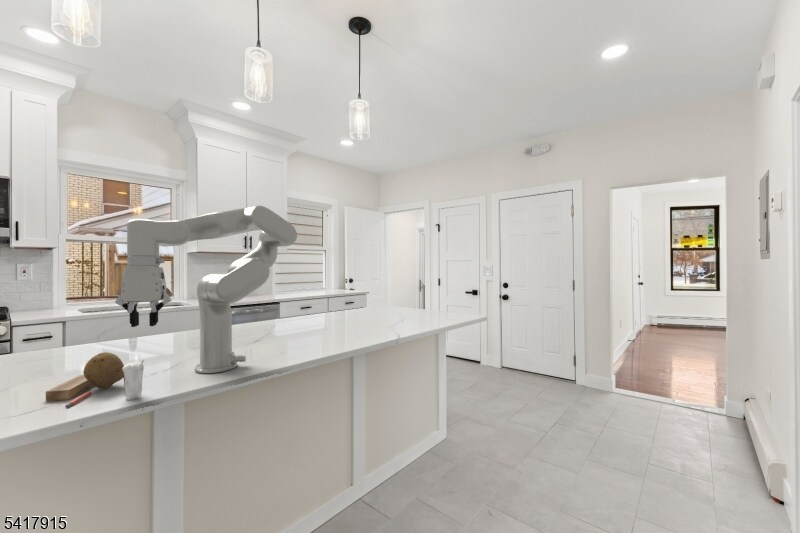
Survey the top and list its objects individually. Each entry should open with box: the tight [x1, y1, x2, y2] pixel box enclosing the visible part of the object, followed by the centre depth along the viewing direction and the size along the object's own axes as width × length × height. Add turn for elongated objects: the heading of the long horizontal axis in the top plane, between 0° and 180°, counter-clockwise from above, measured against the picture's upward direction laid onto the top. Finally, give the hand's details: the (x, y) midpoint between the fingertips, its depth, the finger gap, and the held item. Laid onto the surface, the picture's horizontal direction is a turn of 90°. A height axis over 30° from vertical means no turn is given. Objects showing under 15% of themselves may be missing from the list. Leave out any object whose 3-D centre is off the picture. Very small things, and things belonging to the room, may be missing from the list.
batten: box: [45, 374, 95, 402], centre depth 100 cm, size 5×14×2 cm, turn 14°
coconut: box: [83, 351, 125, 390], centre depth 102 cm, size 9×9×10 cm
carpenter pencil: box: [64, 391, 92, 409], centre depth 92 cm, size 1×9×1 cm, turn 14°
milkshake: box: [122, 359, 145, 401], centre depth 94 cm, size 4×5×10 cm
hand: (144, 325), depth 104 cm, fingers open, 3 cm apart
